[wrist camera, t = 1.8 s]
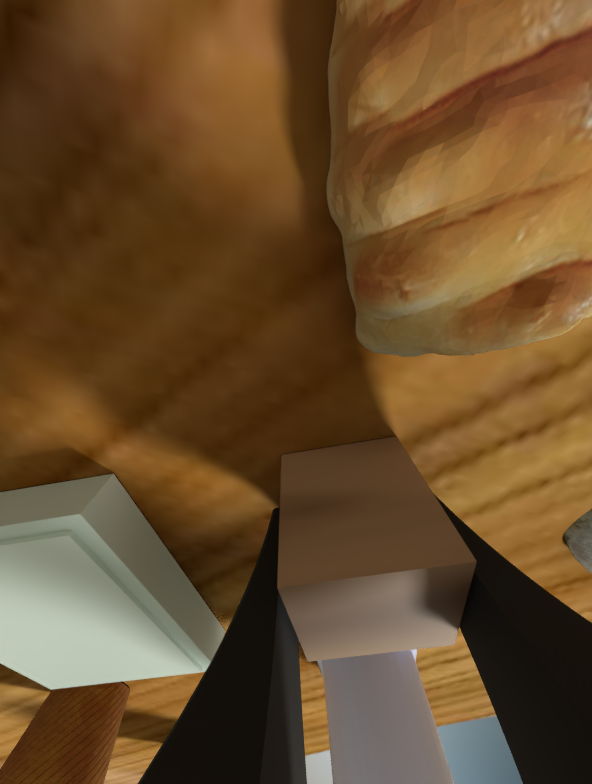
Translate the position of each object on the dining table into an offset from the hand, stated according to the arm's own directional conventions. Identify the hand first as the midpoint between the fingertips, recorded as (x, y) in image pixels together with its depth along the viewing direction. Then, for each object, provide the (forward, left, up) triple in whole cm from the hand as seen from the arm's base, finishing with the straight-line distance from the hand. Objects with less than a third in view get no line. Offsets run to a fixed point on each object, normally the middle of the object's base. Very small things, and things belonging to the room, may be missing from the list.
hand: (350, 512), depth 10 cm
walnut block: (0, 0, -1) cm, 1 cm away
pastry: (+11, -4, -2) cm, 12 cm away
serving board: (-5, +16, -1) cm, 17 cm away
